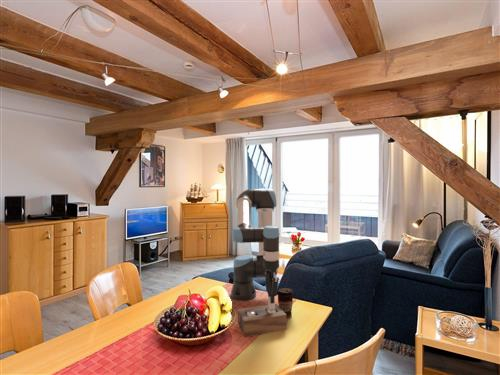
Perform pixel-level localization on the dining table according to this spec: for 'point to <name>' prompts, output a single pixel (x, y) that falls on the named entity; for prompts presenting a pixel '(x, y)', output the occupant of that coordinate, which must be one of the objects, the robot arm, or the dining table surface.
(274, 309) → the peg back
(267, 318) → the socket block
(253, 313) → the peg front
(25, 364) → the dining table surface
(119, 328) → the dining table surface
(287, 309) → the coffee cup
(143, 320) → the dining table surface
